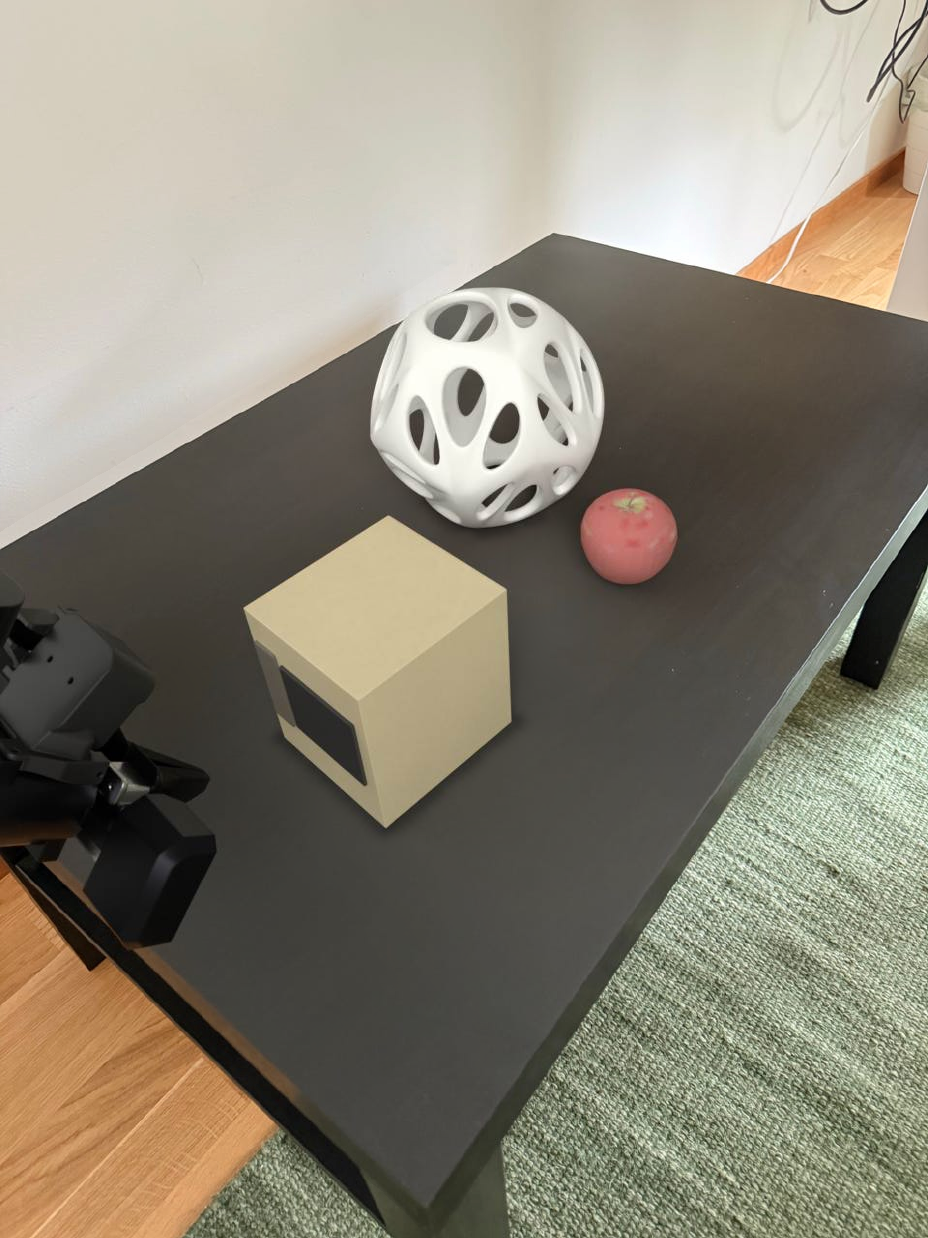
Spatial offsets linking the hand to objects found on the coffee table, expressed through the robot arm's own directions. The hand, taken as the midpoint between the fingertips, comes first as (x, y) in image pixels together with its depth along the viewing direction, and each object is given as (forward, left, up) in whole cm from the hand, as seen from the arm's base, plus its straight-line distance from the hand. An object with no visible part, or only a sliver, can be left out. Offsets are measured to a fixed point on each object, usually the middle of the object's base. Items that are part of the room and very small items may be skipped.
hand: (204, 780), depth 54 cm
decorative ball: (+31, +26, -8) cm, 41 cm away
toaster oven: (+13, +5, -8) cm, 16 cm away
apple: (+36, +11, -8) cm, 38 cm away
